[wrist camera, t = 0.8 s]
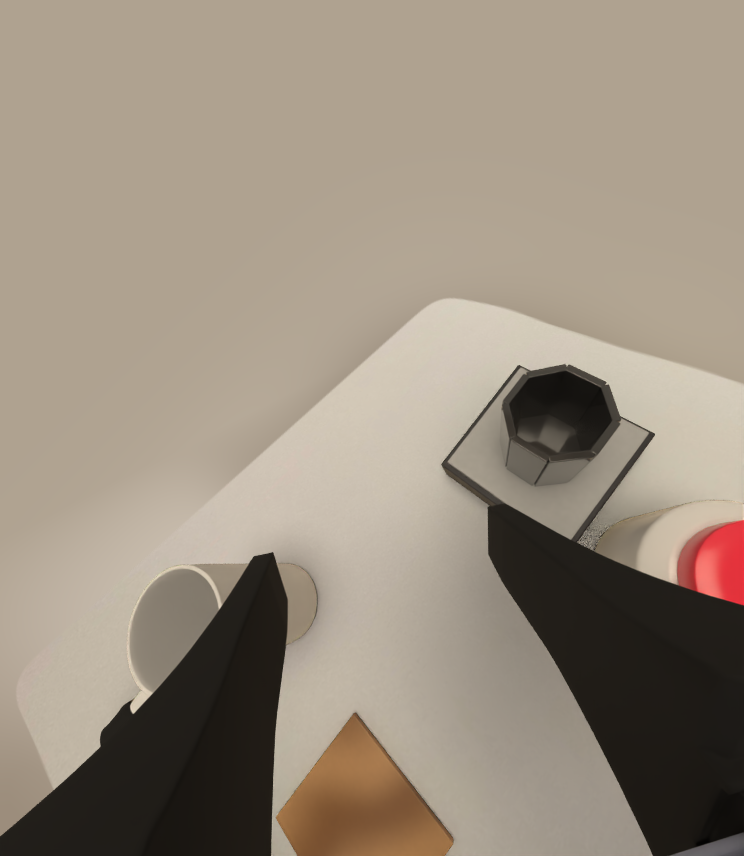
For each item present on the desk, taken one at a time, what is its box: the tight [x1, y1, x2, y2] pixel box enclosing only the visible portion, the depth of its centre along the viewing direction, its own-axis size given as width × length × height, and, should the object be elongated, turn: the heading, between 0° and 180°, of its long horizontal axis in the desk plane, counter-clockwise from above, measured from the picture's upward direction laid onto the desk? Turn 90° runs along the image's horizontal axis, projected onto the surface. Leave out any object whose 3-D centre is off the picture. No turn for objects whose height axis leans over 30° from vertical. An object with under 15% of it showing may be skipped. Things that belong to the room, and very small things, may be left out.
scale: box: [441, 365, 655, 542], centre depth 26 cm, size 10×10×4 cm
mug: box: [127, 563, 317, 714], centre depth 25 cm, size 10×7×12 cm, turn 146°
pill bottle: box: [595, 500, 744, 605], centre depth 18 cm, size 8×8×11 cm
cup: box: [500, 364, 621, 487], centre depth 21 cm, size 5×5×7 cm
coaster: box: [276, 713, 453, 856], centre depth 24 cm, size 9×9×1 cm
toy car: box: [100, 698, 135, 746], centre depth 30 cm, size 3×6×2 cm, turn 130°
